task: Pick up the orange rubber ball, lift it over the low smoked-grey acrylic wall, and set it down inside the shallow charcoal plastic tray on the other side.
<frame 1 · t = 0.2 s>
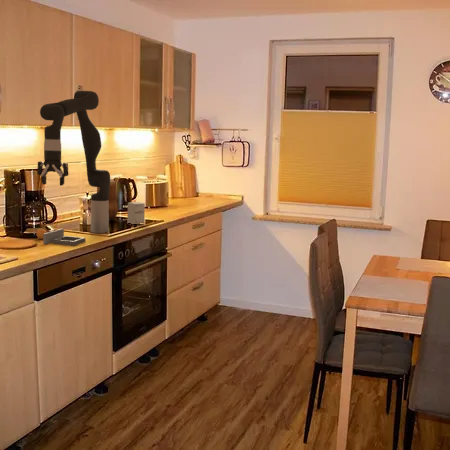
hand: (52, 184, 275), 29 cm above the counter, tool pointing down, fingers open, 8 cm apart
tray: (69, 242, 290), on the counter
supplement box: (135, 224, 351), on the counter
wall: (53, 241, 292), on the counter
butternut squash: (106, 221, 359), on the counter
ball: (41, 234, 296), point 2 cm above the counter
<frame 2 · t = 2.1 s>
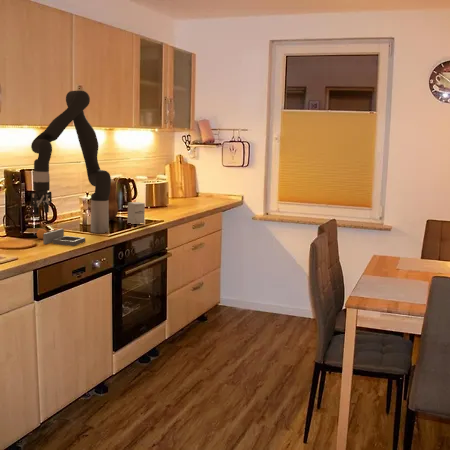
hand: (41, 213, 294), 13 cm above the counter, tool pointing down, fingers open, 8 cm apart
nothing on the counter moved.
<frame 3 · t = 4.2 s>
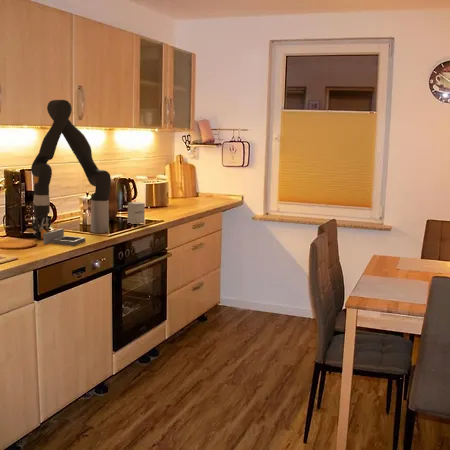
hand: (41, 237, 296), 1 cm above the counter, tool pointing down, fingers closed on ball, 5 cm apart
ball: (41, 234, 296), point 2 cm above the counter, touching gripper
everything else where it was.
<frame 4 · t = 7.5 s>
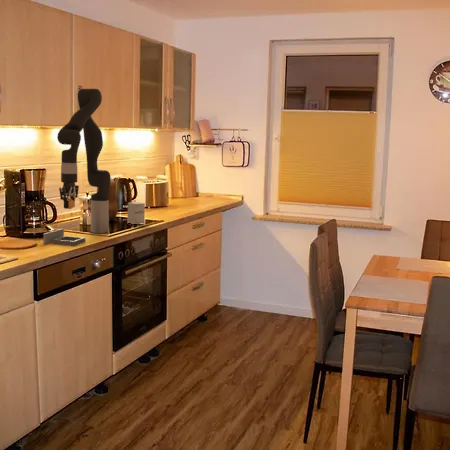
hand: (69, 207, 287), 17 cm above the counter, tool pointing down, fingers closed on ball, 5 cm apart
ball: (69, 203, 287), point 19 cm above the counter, touching gripper
everything else where it was.
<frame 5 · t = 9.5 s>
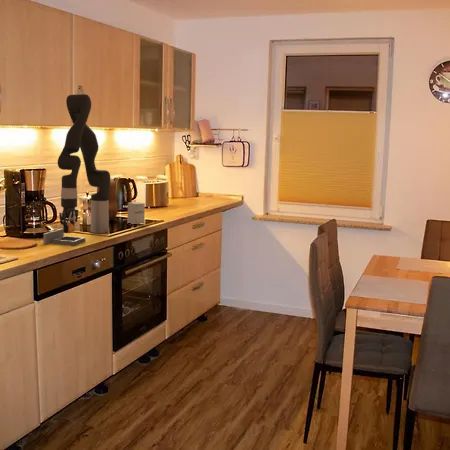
hand: (68, 232, 289), 5 cm above the counter, tool pointing down, fingers closed on ball, 5 cm apart
ball: (69, 228, 289), point 7 cm above the counter, touching gripper
everything else where it was.
when the fingers open (2 cm above the counter, at t = 11.1 s): ball drops 1 cm, resting on tray.
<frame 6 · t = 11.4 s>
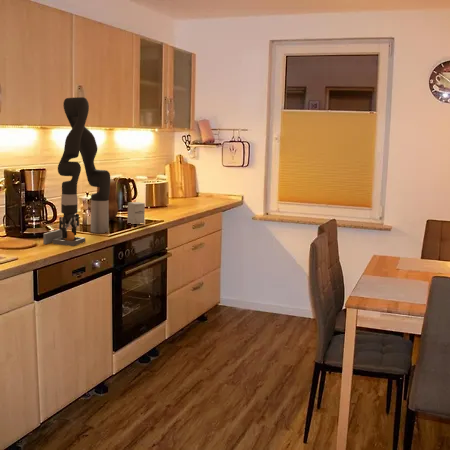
hand: (69, 236, 290), 3 cm above the counter, tool pointing down, fingers open, 8 cm apart
ball: (69, 236, 290), point 3 cm above the counter, touching tray
everything else where it was.
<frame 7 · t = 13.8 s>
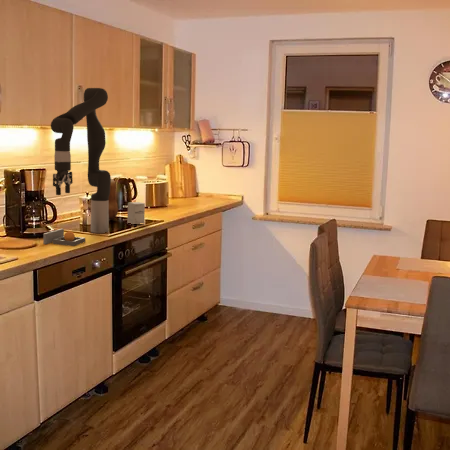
hand: (63, 194, 290), 23 cm above the counter, tool pointing down, fingers open, 8 cm apart
nothing on the counter moved.
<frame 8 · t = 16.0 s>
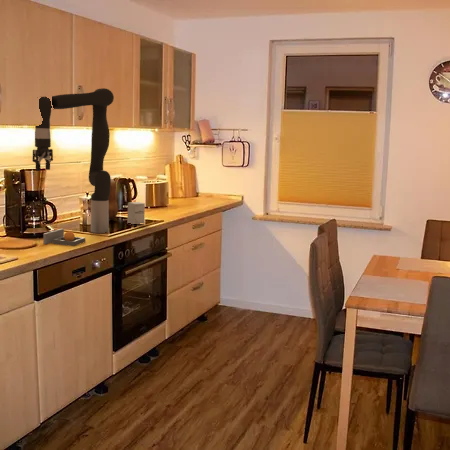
hand: (43, 170, 301), 33 cm above the counter, tool pointing down, fingers open, 8 cm apart
nothing on the counter moved.
at the end: ball inside the target area on the tray (0.0 cm from its centre), point 3.1 cm above the tray's base; the gripper is holding nothing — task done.
